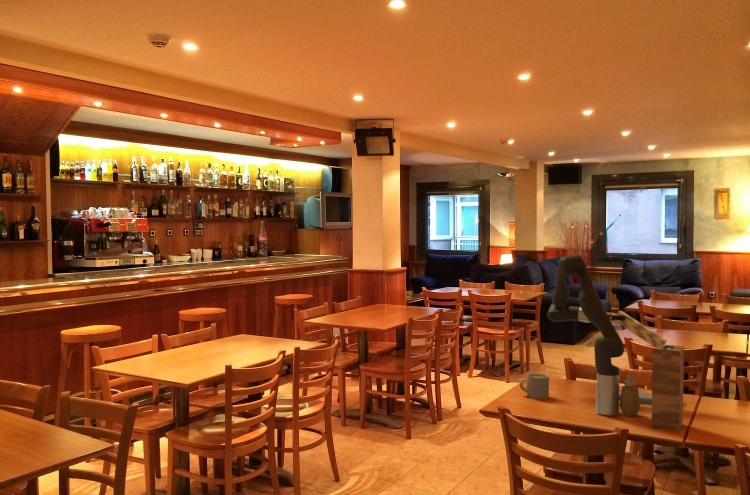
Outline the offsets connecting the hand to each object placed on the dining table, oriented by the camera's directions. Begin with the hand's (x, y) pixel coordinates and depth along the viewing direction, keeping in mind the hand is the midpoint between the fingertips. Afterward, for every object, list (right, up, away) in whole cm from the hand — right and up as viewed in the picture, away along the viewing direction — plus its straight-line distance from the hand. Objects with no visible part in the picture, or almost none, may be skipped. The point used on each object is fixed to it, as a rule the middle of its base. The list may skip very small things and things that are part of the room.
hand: (626, 318), depth 297 cm
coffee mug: (-42, -38, +5) cm, 57 cm away
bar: (+4, -7, -3) cm, 9 cm away
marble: (+2, -11, -39) cm, 41 cm away
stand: (0, -39, -41) cm, 57 cm away
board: (+8, -38, -4) cm, 39 cm away
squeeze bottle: (-9, -39, -26) cm, 48 cm away
